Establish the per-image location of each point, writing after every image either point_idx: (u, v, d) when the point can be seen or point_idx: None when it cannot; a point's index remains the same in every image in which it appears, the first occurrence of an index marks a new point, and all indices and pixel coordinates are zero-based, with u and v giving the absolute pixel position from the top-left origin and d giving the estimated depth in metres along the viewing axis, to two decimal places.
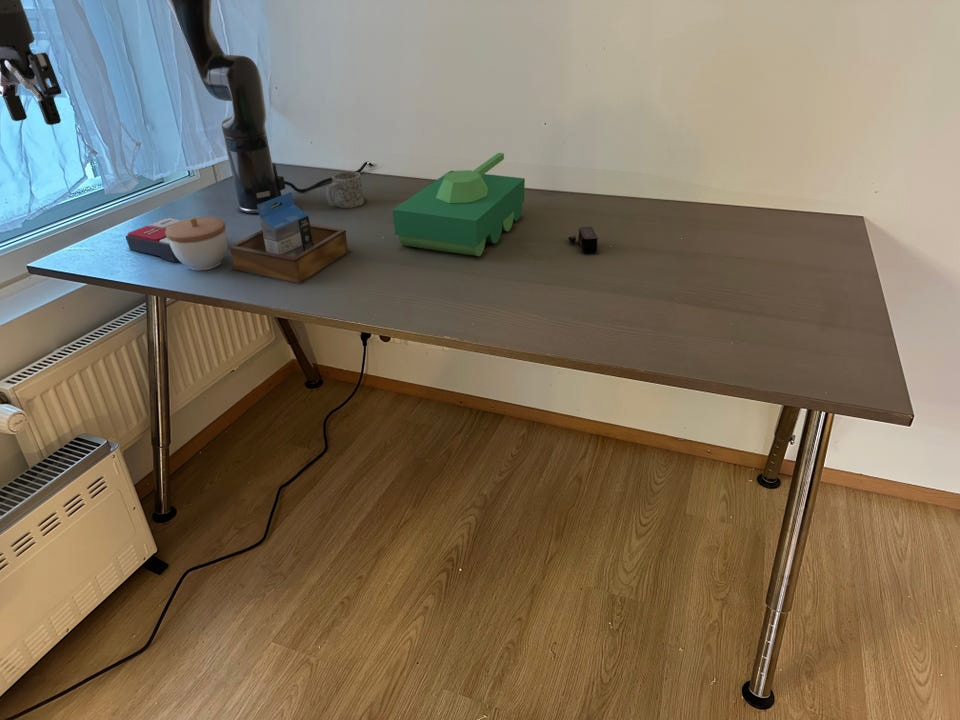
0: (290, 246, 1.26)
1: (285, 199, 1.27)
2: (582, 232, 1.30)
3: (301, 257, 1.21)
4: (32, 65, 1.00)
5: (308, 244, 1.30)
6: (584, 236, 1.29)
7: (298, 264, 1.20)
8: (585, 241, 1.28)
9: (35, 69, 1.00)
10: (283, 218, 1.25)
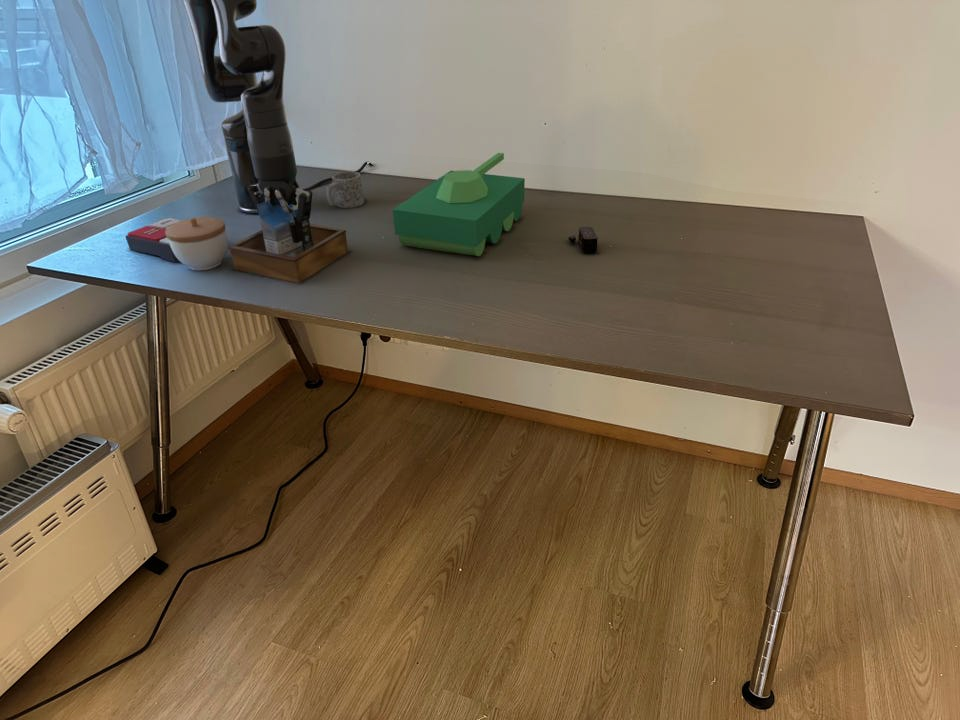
0: (290, 246, 1.26)
1: None
2: (582, 232, 1.30)
3: (301, 257, 1.21)
4: (300, 201, 1.20)
5: (308, 244, 1.30)
6: (584, 236, 1.29)
7: (298, 264, 1.20)
8: (585, 241, 1.28)
9: (301, 204, 1.21)
10: (283, 218, 1.25)
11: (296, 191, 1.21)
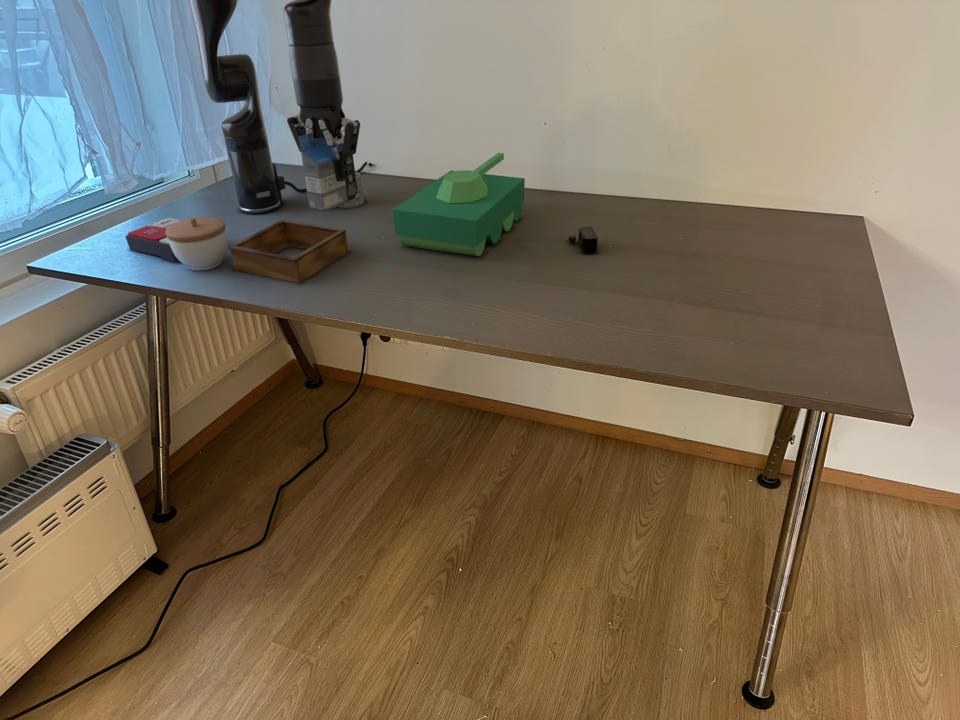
0: (333, 185, 1.14)
1: None
2: (582, 232, 1.30)
3: (301, 257, 1.21)
4: (346, 131, 1.08)
5: (352, 185, 1.18)
6: (584, 236, 1.29)
7: (298, 264, 1.20)
8: (585, 241, 1.28)
9: (347, 135, 1.09)
10: (326, 154, 1.13)
11: (342, 121, 1.09)
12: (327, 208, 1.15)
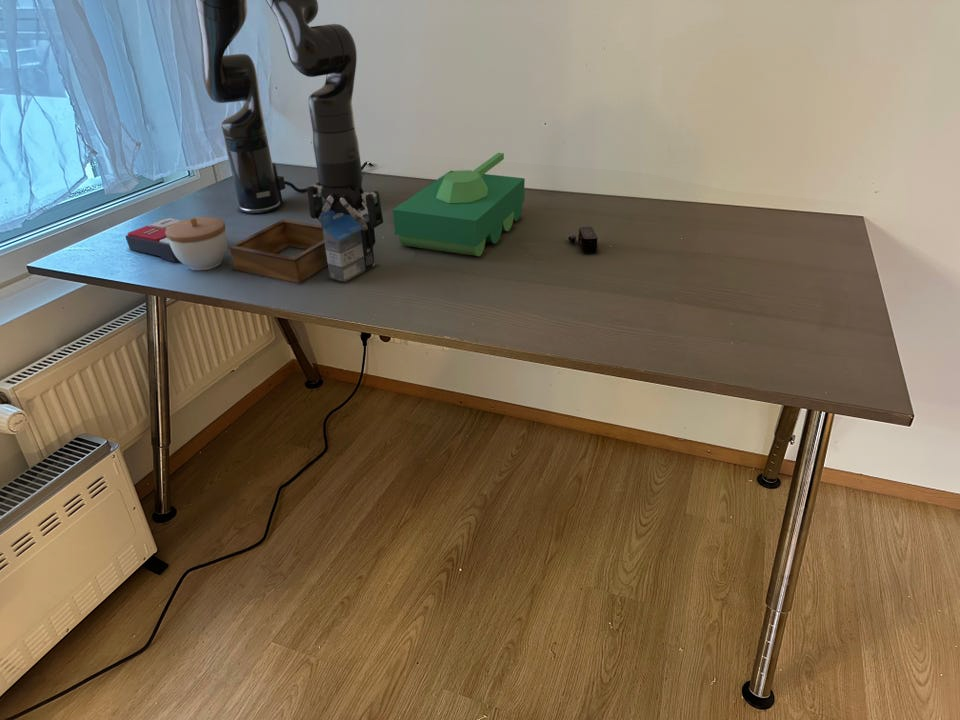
0: (353, 258, 1.21)
1: None
2: (582, 232, 1.30)
3: (301, 257, 1.21)
4: (368, 203, 1.14)
5: (369, 255, 1.25)
6: (584, 236, 1.29)
7: (298, 264, 1.20)
8: (585, 241, 1.28)
9: (370, 206, 1.14)
10: (345, 229, 1.19)
11: (362, 195, 1.15)
12: (346, 279, 1.21)
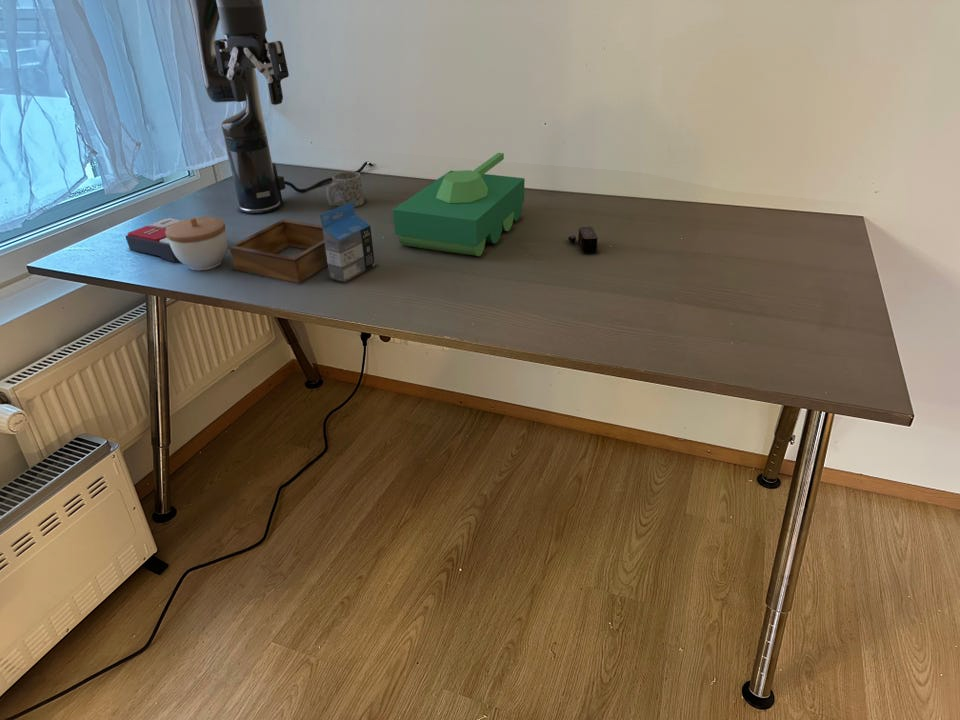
0: (353, 258, 1.21)
1: (346, 209, 1.22)
2: (582, 232, 1.30)
3: (301, 257, 1.21)
4: (270, 51, 1.14)
5: (369, 255, 1.25)
6: (584, 236, 1.29)
7: (298, 264, 1.20)
8: (585, 241, 1.28)
9: (272, 55, 1.15)
10: (345, 229, 1.19)
11: (265, 45, 1.15)
12: (346, 279, 1.21)
